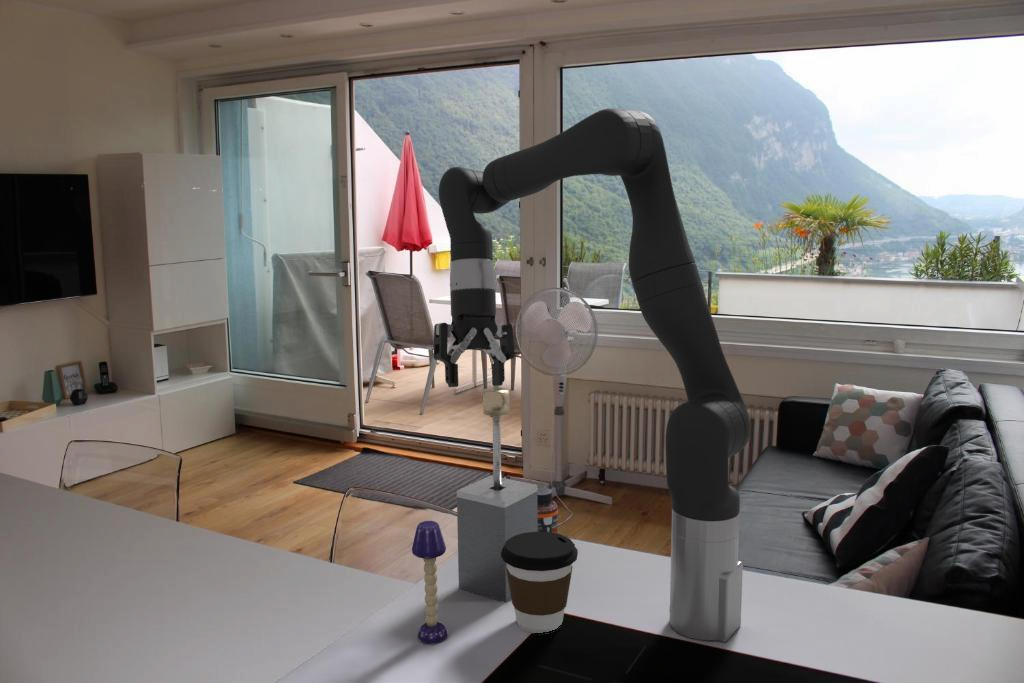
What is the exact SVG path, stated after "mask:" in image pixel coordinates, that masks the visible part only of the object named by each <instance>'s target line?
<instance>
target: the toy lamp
mask: <svg viewBox="0 0 1024 683" xmlns="http://www.w3.org/2000/svg"><path fill="white" fill-rule="evenodd" d="M445 552H447V547H446V542H445V539H444V536H443V533H442V529H441V527H440V524H439V523H438V522H437V521H434V520H426V521H425V520H424V521H422V522H418V524H417V525H416V529H415V533H414V538H413V542H412V547H411V553H412V554H413V556H414V557H416V558H420V559H423V562H424V564H423V571H424V575H423V576H424V579H423V580H424V583H425V584H424V592H425V596H424V602H425V608H424V610H425V614H426V616H425V623H423V624H422V625H420V627H419V629H418V631H417V639H418V640H419V642H422V643H423V644H429V645H430V644H431V645H432V644H440V643H441V642H444V641H446V640H447V638H448V637H449V632H448V628H447V627H446V625H444V624H443V623H442V622H441V621H439V615H438V611H439V606H438V599H439V598H438V593H437V592H438V589H439V588H438V583H437V581H438V574H437V573H436V572H437V569H438V568H437V567H438V566H437V563H436V561H437V558H439V557H442V556H443V555H445Z"/></svg>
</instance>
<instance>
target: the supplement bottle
mask: <svg viewBox="0 0 1024 683" xmlns="http://www.w3.org/2000/svg"><path fill="white" fill-rule="evenodd" d="M537 509H538V532H551V533H556V534H559V530H558V529H559V521H558V520H559V513H558V512H559V507H558V504H557V503H556V502H555V501H554V500H553V490H552V489H550V488H549V487H537Z"/></svg>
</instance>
